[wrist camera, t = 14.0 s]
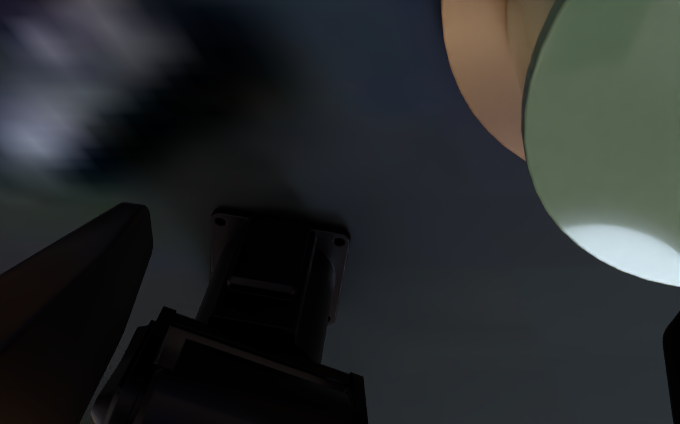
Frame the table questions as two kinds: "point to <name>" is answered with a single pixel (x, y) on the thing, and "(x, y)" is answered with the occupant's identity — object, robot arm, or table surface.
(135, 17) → the table surface
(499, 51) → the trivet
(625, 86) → the pot
